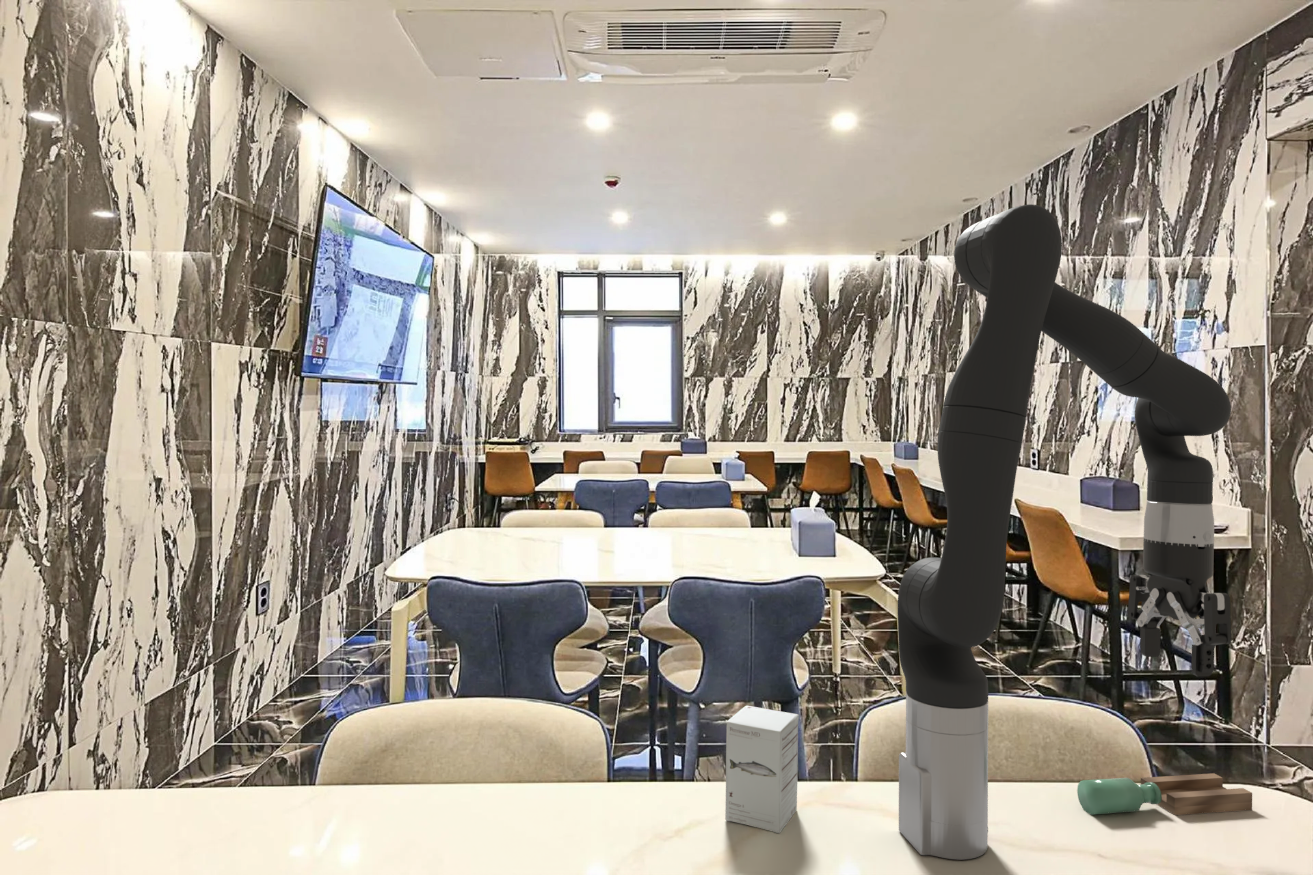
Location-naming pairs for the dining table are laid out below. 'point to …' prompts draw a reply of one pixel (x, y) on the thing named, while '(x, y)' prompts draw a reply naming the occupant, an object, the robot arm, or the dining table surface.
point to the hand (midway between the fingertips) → (1175, 665)
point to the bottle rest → (1199, 794)
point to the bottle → (1116, 795)
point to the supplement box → (761, 767)
